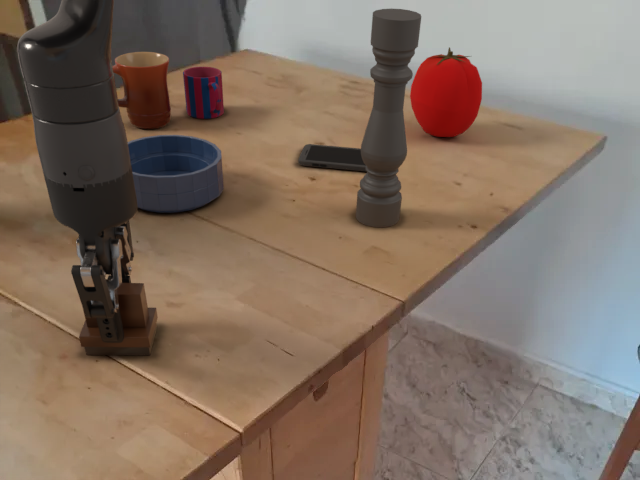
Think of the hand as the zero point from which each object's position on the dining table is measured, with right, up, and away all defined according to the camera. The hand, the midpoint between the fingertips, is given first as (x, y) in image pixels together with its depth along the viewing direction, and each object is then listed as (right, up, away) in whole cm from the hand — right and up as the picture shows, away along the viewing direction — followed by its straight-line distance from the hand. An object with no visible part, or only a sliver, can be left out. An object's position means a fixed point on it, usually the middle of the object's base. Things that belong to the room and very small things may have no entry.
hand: (119, 323), depth 72 cm
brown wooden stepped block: (0, -2, +2) cm, 2 cm away
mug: (-10, +42, +48) cm, 64 cm away
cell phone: (+25, +32, +39) cm, 56 cm away
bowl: (-1, +23, +28) cm, 37 cm away
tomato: (+42, +40, +49) cm, 76 cm away
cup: (+1, +45, +52) cm, 69 cm away
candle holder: (+29, +19, +25) cm, 42 cm away
